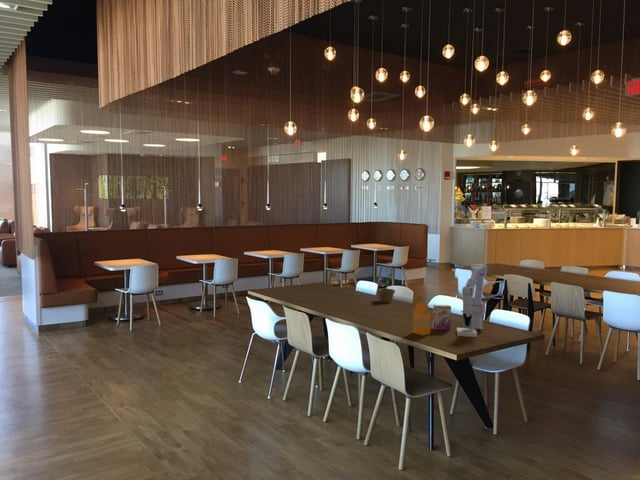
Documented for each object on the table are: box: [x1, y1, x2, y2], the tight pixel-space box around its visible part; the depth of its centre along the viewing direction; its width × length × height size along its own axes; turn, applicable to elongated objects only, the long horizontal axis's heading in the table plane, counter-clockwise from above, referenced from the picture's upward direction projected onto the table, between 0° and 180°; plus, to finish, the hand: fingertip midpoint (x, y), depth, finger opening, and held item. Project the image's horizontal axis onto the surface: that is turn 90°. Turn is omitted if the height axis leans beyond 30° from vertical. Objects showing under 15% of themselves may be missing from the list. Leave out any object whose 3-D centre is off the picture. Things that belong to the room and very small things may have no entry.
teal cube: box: [462, 318, 473, 329], centre depth 342 cm, size 5×5×5 cm
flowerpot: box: [377, 267, 396, 304], centre depth 446 cm, size 14×14×30 cm
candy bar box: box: [431, 304, 452, 331], centre depth 353 cm, size 11×5×16 cm, turn 92°
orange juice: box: [412, 302, 432, 336], centre depth 342 cm, size 8×9×20 cm
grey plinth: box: [456, 327, 478, 338], centre depth 342 cm, size 12×12×3 cm
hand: (466, 325), depth 342 cm, fingers closed on teal cube, 5 cm apart
